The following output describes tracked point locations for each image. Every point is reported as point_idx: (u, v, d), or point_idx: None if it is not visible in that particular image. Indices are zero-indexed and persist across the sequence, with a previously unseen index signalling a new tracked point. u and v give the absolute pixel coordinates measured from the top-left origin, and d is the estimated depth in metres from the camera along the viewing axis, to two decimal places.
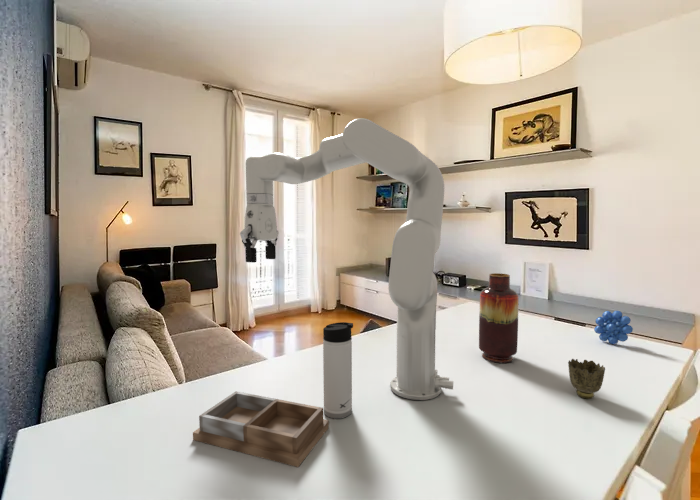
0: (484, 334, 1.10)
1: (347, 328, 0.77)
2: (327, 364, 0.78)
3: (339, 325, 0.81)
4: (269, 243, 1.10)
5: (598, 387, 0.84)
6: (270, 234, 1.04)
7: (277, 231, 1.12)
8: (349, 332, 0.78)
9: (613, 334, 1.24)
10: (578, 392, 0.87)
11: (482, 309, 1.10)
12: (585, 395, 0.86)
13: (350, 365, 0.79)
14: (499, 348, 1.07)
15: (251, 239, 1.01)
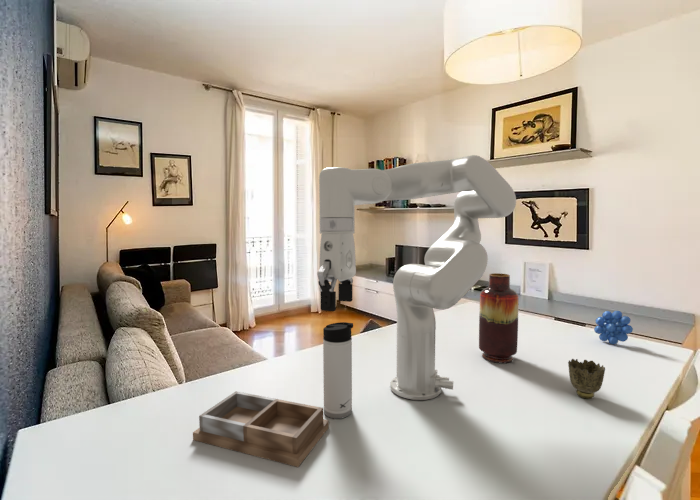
0: (484, 334, 1.10)
1: (347, 328, 0.77)
2: (327, 364, 0.78)
3: (339, 325, 0.81)
4: (344, 280, 0.83)
5: (598, 387, 0.84)
6: (350, 271, 0.78)
7: None
8: (349, 332, 0.78)
9: (613, 334, 1.24)
10: (578, 392, 0.87)
11: (482, 309, 1.10)
12: (585, 395, 0.86)
13: (350, 365, 0.79)
14: (499, 348, 1.07)
15: (328, 279, 0.74)
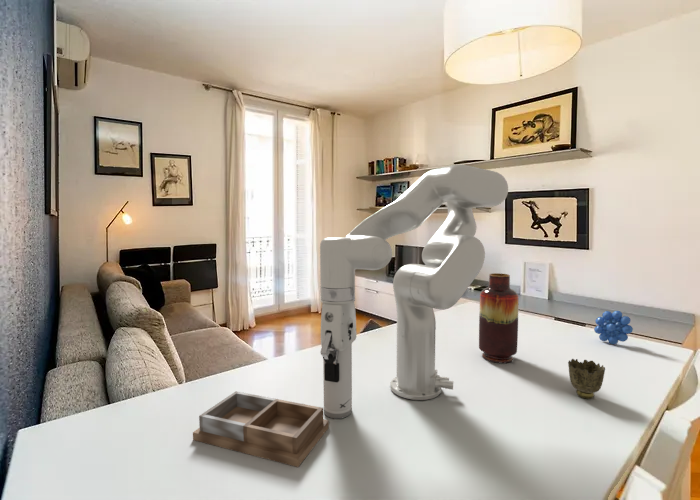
0: (484, 334, 1.10)
1: None
2: None
3: None
4: None
5: (598, 387, 0.84)
6: (351, 337, 0.79)
7: None
8: (349, 332, 0.78)
9: (613, 334, 1.24)
10: (578, 392, 0.87)
11: (482, 309, 1.10)
12: (585, 395, 0.86)
13: (350, 365, 0.79)
14: (499, 348, 1.07)
15: (329, 349, 0.75)
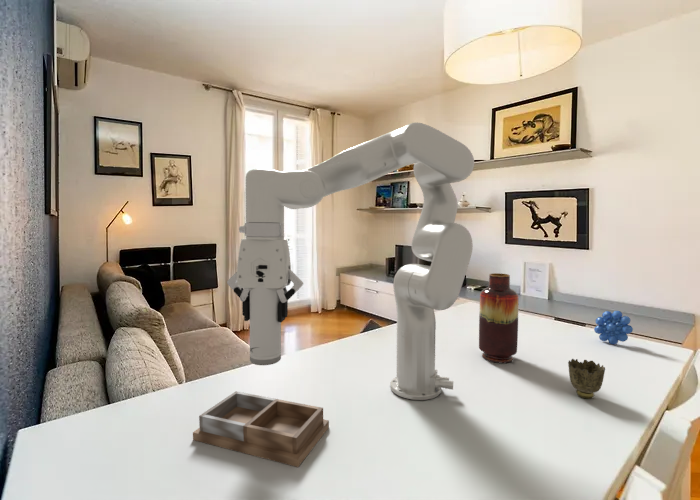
0: (484, 334, 1.10)
1: None
2: None
3: None
4: None
5: (598, 387, 0.84)
6: (263, 281, 0.71)
7: (299, 283, 0.73)
8: (258, 273, 0.71)
9: (613, 334, 1.24)
10: (578, 392, 0.87)
11: (482, 309, 1.10)
12: (585, 395, 0.86)
13: (259, 310, 0.71)
14: (499, 348, 1.07)
15: None
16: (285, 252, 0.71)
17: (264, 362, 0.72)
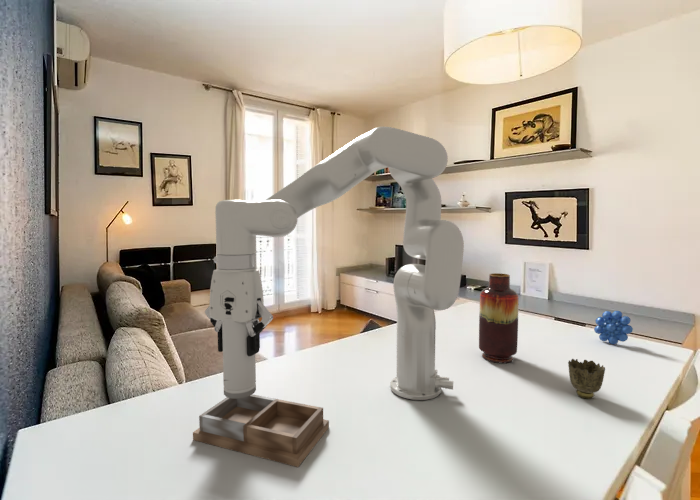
0: (484, 334, 1.10)
1: (224, 299, 0.70)
2: None
3: None
4: None
5: (598, 387, 0.84)
6: (231, 314, 0.70)
7: (267, 317, 0.69)
8: (226, 305, 0.70)
9: (613, 334, 1.24)
10: (578, 392, 0.87)
11: (482, 309, 1.10)
12: (585, 395, 0.86)
13: (228, 343, 0.70)
14: (499, 348, 1.07)
15: None
16: (251, 285, 0.69)
17: (233, 396, 0.71)
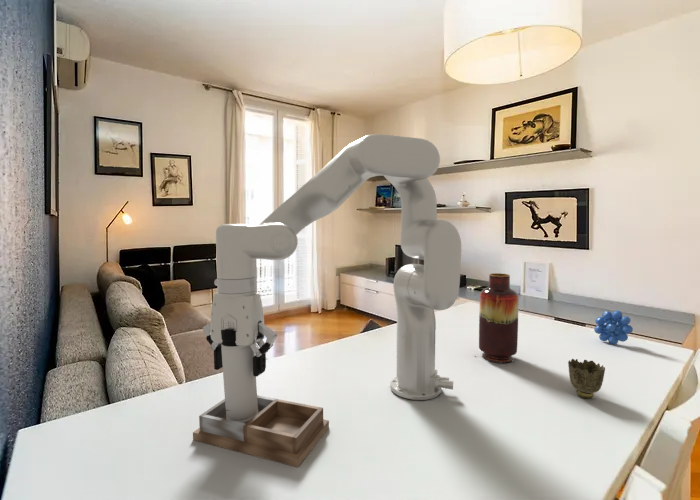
0: (484, 334, 1.10)
1: (222, 331, 0.70)
2: None
3: None
4: None
5: (598, 387, 0.84)
6: None
7: (271, 335, 0.69)
8: (225, 337, 0.70)
9: (613, 334, 1.24)
10: (578, 392, 0.87)
11: (482, 309, 1.10)
12: (585, 395, 0.86)
13: (228, 374, 0.70)
14: (499, 348, 1.07)
15: None
16: (252, 309, 0.69)
17: None
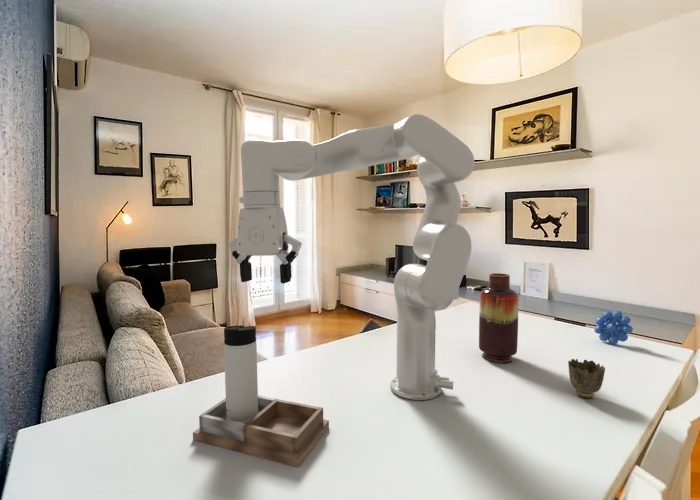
0: (484, 334, 1.10)
1: (226, 330, 0.71)
2: None
3: (247, 329, 0.73)
4: None
5: (598, 387, 0.84)
6: (259, 247, 0.74)
7: (296, 243, 0.74)
8: (228, 336, 0.70)
9: (613, 334, 1.24)
10: (578, 392, 0.87)
11: (482, 309, 1.10)
12: (585, 395, 0.86)
13: (230, 374, 0.71)
14: (499, 348, 1.07)
15: None
16: (277, 219, 0.74)
17: None
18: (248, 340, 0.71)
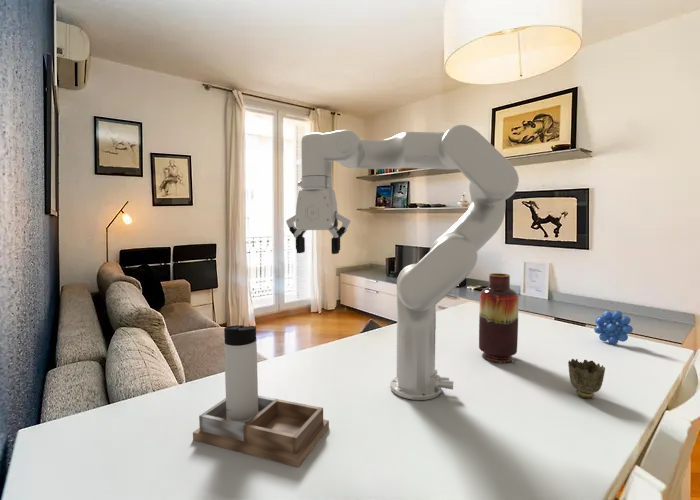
0: (484, 334, 1.10)
1: (226, 330, 0.71)
2: None
3: (247, 329, 0.73)
4: None
5: (598, 387, 0.84)
6: (314, 223, 0.89)
7: (346, 220, 0.88)
8: (229, 336, 0.70)
9: (613, 334, 1.24)
10: (578, 392, 0.87)
11: (482, 309, 1.10)
12: (585, 395, 0.86)
13: (230, 373, 0.71)
14: (499, 348, 1.07)
15: None
16: (331, 199, 0.88)
17: None
18: (249, 339, 0.71)
